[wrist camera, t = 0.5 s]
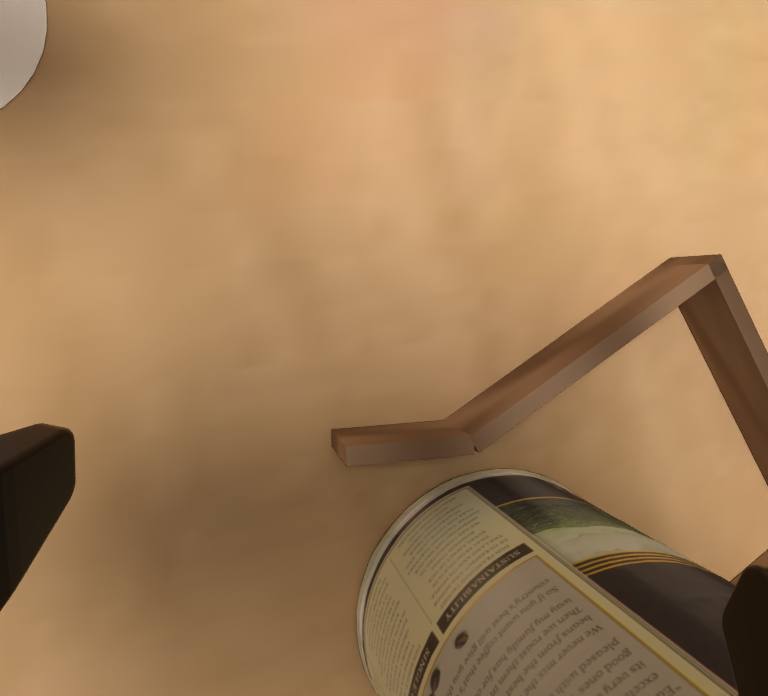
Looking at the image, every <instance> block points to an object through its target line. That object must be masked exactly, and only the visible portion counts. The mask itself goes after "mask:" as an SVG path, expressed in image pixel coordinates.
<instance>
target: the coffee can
mask: <svg viewBox="0 0 768 696" xmlns="http://www.w3.org/2000/svg"><path fill="white" fill-rule="evenodd" d="M735 586H736V585H734V584H732V583H731V582H729V581H727V580H725V579H724V578H722V577H720V576H718V575H716V574H714V573H712V572H711V571H709V570H707V569H705V568H704V567H702V566H700V565H698V564H697V563H695V562H693V561H691V560H690V559H688V558H686V557H684V556H683V555H681V554H679V553H677V552H675V551H674V550H672V549H670V548H668V547H667V546H665V545H664V544H662V543H660V542H659V541H656V540H654V539H652V538H650V537H648V536H647V535H645V534H643V533H641V532H640V531H638V530H636V529H634V528H633V527H631V526H629V525H628V524H626V523H624V522H622V521H621V520H619V519H617V518H615V517H613V516H611V515H609V514H608V513H606V512H604V511H603V510H601V509H599V508H597V507H595V506H594V505H592V504H590V503H589V502H587V501H585V500H584V499H582V498H579V497H577V496H576V495H575V494H574V493H573V492H571V491H570V490H569V489H567V488H566V487H565V486H563V485H561V484H560V483H558V482H556V481H554V480H552V479H550V478H548V477H545V476H542V475H539V474H536V473H533V472H529V471H524V470H517V469H492V470H483V471H478V472H473V473H469V474H466V475H462V476H459V477H456V478H454V479H451V480H449V481H447V482H444V483H442V484H441V485H439V486H437V487H436V488H434V489H433V490H431V491H429V492H428V493H426V494H425V495H423V496H422V497H421V498H419V499H418V500H417V501H416V502H414V503H413V504H412V505H411V506H410V507H408V508H407V509H406V510H405V511H404V512H403V513H402V514H401V515H400V517H399V518H398V519H397V520H396V521H395V522H394V523H393V525H392V526H391V527H390V528H389V530H388V531H387V532H386V534H385V535H384V537H383V538H382V540H381V541H380V543H379V544H378V546H377V547H376V549H375V551H374V552H373V554H372V556H371V558H370V561H369V564H368V566H367V569H366V572H365V576H364V579H363V581H362V585H361V588H360V592H359V598H358V605H357V612H356V620H357V638H358V645H359V651H360V655H361V659H362V664H363V667H364V670H365V672H366V674H367V676H368V678H369V680H370V681H371V683H372V685H373V688H374V689H375V691H376V692H377V694H378V696H738V692H737V688H736V684H735V680H734V676H733V672H732V668H731V664H730V659H729V655H728V651H727V647H726V643H725V639H724V635H723V630H722V615H723V611H724V608H725V606H726V604H727V602H728V600H729V598H730V596H731V594H732V592H733V590H734V588H735Z"/></svg>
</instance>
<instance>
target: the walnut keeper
mask: <svg viewBox="0 0 768 696" xmlns="http://www.w3.org/2000/svg"><path fill="white" fill-rule="evenodd" d="M678 306H679V308H680V310H681V312H682V314H683V316H684V318H685V320H686V322H687V324H688V326H689V328H690V330H691V332H692V334H693V336H694V338H695V340H696V342H697V344H698V346H699V348H700V350H701V352H702V354H703V356H704V358H705V360H706V362H707V364H708V366H709V368H710V370H711V372H712V374H713V376H714V378H715V380H716V382H717V384H718V386H719V388H720V390H721V392H722V394H723V396H724V398H725V400H726V402H727V404H728V406H729V408H730V410H731V412H732V414H733V416H734V418H735V420H736V422H737V424H738V426H739V428H740V430H741V432H742V434H743V436H744V438H745V440H746V442H747V444H748V446H749V448H750V450H751V452H752V454H753V456H754V458H755V460H756V462H757V464H758V466H759V468H760V470H761V472H762V474H763V476H764V478H765V480H766V482H767V484H768V353H767V351H766V349H765V346H764V344H763V342H762V340H761V338H760V336H759V334H758V332H757V329H756V327H755V325H754V323H753V321H752V319H751V317H750V315H749V313H748V310H747V308H746V306H745V304H744V302H743V300H742V298H741V296H740V293H739V291H738V289H737V287H736V285H735V283H734V281H733V279H732V277H731V274H730V272H729V270H728V268H727V266H726V264H725V262H724V260H723V257H722V255H721V254H718V255H703V256H688V257H674V258H669V259H668V260H667V261H665V262H664V263H663V264H661V265H660V266H658V267H657V268H656V269H654V270H653V271H651V272H650V273H649V274H647V275H646V276H644V277H643V278H642V279H640V280H639V281H637V282H636V283H635V284H633V285H632V286H630V287H629V288H628V289H626V290H625V291H623V292H622V293H621V294H619V295H618V296H616V297H615V298H614V299H612V300H611V301H609V302H608V303H607V304H605V305H604V306H602V307H601V308H600V309H598V310H597V311H596V312H594V313H593V314H591V315H590V316H589V317H587V318H586V319H584V320H583V321H582V322H580V323H579V324H577V325H576V326H575V327H573V328H572V329H570V330H569V331H568V332H566V333H565V334H563V335H562V336H561V337H559V338H558V339H556V340H555V341H554V342H552V343H551V344H549V345H548V346H547V347H545V348H544V349H542V350H541V351H540V352H538V353H537V354H535V355H534V356H533V357H531V358H530V359H528V360H527V361H526V362H524V363H523V364H522V365H520V366H519V367H517V368H516V369H515V370H513V371H512V372H510V373H509V374H508V375H506V376H505V377H503V378H502V379H501V380H499V381H498V382H496V383H495V384H494V385H492V386H491V387H489V388H488V389H487V390H485V391H484V392H482V393H481V394H480V395H478V396H477V397H475V398H474V399H473V400H471V401H470V402H468V403H467V404H466V405H464V406H463V407H461V408H460V409H459V410H457V411H456V412H454V413H453V414H452V415H450V416H449V417H448V418H446V419H445V420H440V421H428V422H415V423H403V424H391V425H379V426H367V427H354V428H342V429H331V439H332V448H333V449H334V451H335V452H336V453H337V455H338V456H339V457H340V459H341V460H342V461H343V462H344V464H345V465H346V466H347V467H351V466H361V465H371V464H381V463H392V462H402V461H412V460H422V459H433V458H443V457H453V456H463V455H474V450H475V451H477V452H480V451H482V450H483V449H484V448H486V447H487V446H489V445H490V444H491V443H493V442H494V441H495V440H497V439H498V438H499V437H501V436H502V435H503V434H505V433H506V432H508V431H509V430H510V429H512V428H513V427H514V426H516V425H517V424H518V423H520V422H521V421H523V420H524V419H525V418H527V417H528V416H529V415H531V414H532V413H533V412H535V411H536V410H538V409H539V408H540V407H542V406H543V405H544V404H546V403H547V402H548V401H550V400H551V399H552V398H554V397H555V396H557V395H558V394H559V393H561V392H562V391H563V390H565V389H566V388H567V387H569V386H570V385H572V384H573V383H574V382H576V381H577V380H578V379H580V378H581V377H582V376H584V375H585V374H586V373H588V372H589V371H591V370H592V369H593V368H595V367H596V366H597V365H599V364H600V363H601V362H603V361H604V360H606V359H607V358H608V357H610V356H611V355H612V354H614V353H615V352H616V351H618V350H619V349H620V348H622V347H623V346H625V345H626V344H627V343H629V342H630V341H631V340H633V339H634V338H635V337H637V336H638V335H640V334H641V333H642V332H644V331H645V330H646V329H648V328H649V327H650V326H652V325H653V324H654V323H656V322H657V321H659V320H660V319H661V318H663V317H664V316H665V315H667V314H668V313H669V312H671V311H672V310H674V309H675V308H676V307H678ZM753 564H756V565H761V566H766V567H768V551H766V552H765V553H764V554H763V555H762V556H760V557H759V558H758V559H757V560H756V561H755V562H753V563H752V564H751V565H753ZM741 574H742V573H740V574H739V575H738V576H737V577H736V578H735V579H733V580H732V581H731V583H732V584H734V585H736V584H737V582H738V580H739V578H740V576H741Z"/></svg>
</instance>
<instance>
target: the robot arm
mask: <svg viewBox="0 0 768 696" xmlns="http://www.w3.org/2000/svg"><path fill="white" fill-rule="evenodd" d="M75 479H76V477H75V440H74V435H73V433H72V432H71V431H70V430H69V429H68V428H64V427H59V426H54V425H49V424H44V423H39V424H35V425H32V426H28V427H25V428H22V429H18V430H15V431H12V432H9V433H5V434H2V435H0V611H1V609H2V608H3V607H4V605H5V604H6V603H7V601H8V600H9V598H10V597H11V595H12V594H13V592H14V591H15V589H16V588H17V586H18V585H19V583H20V581H21V580H22V578H23V577H24V575H25V573H26V572H27V570H28V568H29V567H30V565H31V563H32V562H33V560H34V558H35V557H36V555H37V553H38V552H39V550H40V548H41V547H42V545H43V543H44V542H45V540H46V538H47V537H48V535H49V533H50V532H51V530H52V528H53V527H54V525H55V523H56V522H57V520H58V518H59V517H60V515H61V513H62V512H63V510H64V508H65V507H66V505H67V503H68V502H69V500H70V498H71V496H72V494H73V491H74V487H75ZM722 630H723V635H724V639H725V643H726V647H727V651H728V655H729V659H730V664H731V668H732V672H733V676H734V680H735V684H736V688H737V692H738V696H768V567H766V566H761V565H756V564H753V565H750V566H748V567H746V568H745V569H744V571H743V572H742V574H741V576H740V578H739V580H738V582H737V584H736V586H735V588H734V590H733V592H732V594H731V596H730V598H729V600H728V602H727V604H726V606H725V608H724V611H723V615H722Z"/></svg>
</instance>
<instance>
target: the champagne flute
mask: <svg viewBox="0 0 768 696" xmlns="http://www.w3.org/2000/svg"><path fill="white" fill-rule="evenodd" d="M46 32H47V14H46V2H45V0H0V108H2V107H4V106H5V105H6V104H7V103H8V102H9V101H10V100H12V99H13V98H14V97H15V96H16V95H17V94H18V93H19V92H21V90H22V89H23V88H24V86H25V85H26V83H27V82H28V81H29V79H30V78H31V76H32V75H33V74H34V72H35V70H36V67H37V65H38V63H39V60H40V58H41V55H42V53H43V49H44V43H45V38H46Z"/></svg>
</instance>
